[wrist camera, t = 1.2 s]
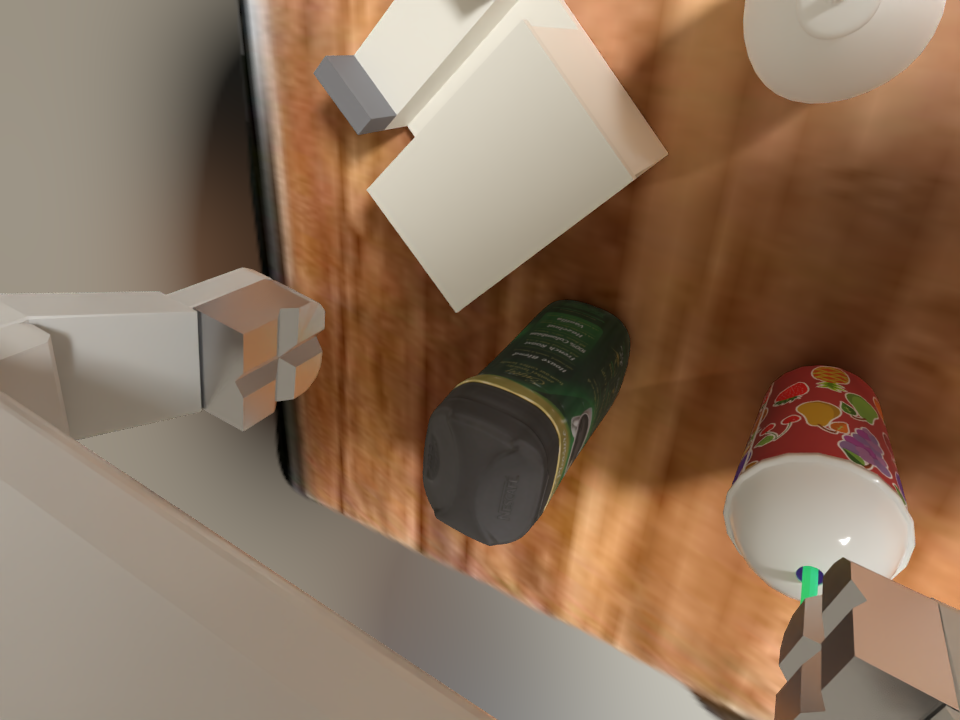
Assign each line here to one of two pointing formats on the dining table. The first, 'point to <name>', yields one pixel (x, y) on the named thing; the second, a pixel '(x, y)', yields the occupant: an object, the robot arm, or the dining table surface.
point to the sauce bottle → (835, 44)
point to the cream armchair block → (489, 131)
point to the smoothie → (818, 485)
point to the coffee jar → (523, 422)
